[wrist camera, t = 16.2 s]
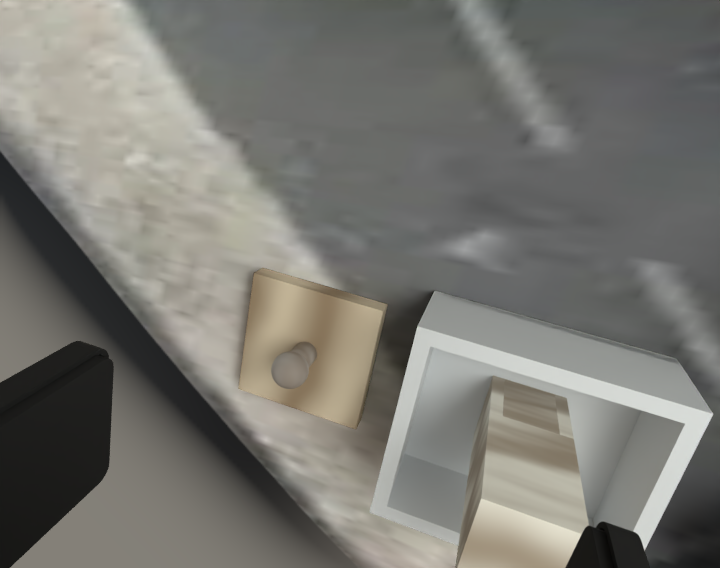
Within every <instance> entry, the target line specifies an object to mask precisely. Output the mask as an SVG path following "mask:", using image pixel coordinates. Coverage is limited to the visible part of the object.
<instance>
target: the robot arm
mask: <svg viewBox="0 0 720 568" xmlns="http://www.w3.org/2000/svg"><path fill="white" fill-rule="evenodd" d="M112 389H113V362H112V360H110V359H109V355H108V353H107V351H106V350H104V349H102V348H99V347H96V346H93V345H90V344H87V343H84V342H81V341H76V342H73V343H71V344H69V345H67V346H65V347H63V348H62V349H60V350H58V351H56V352H54V353H53V354H51V355H49V356H47V357H46V358H44V359H42V360H40V361H38V362H37V363H35V364H33V365H32V366H30V367H28V368H26V369H24V370H22V371H20V372H19V373H17V374H15V375H13V376H12V377H10V378H8V379H6V380H4V381H2V382H1V383H0V568H10V567H11V566H12V565H13V564H14V563H15V562H16V561H17V560H18V559H19V558H21V557H22V556H23V555H24V554H25V553H26V552H27V551H28V550H29V549H30V548H31V547H32V546H33V545H34V544H35V543H36V542H38V541H39V540H40V539H41V538H42V537H43V536H44V535H45V534H46V533H47V532H48V531H49V530H50V529H51V528H52V527H53V526H54V525H56V524H57V523H58V522H59V521H60V520H61V519H62V518H63V517H64V516H65V515H66V514H67V513H68V512H69V511H70V510H71V509H72V508H74V507H75V506H76V505H77V504H78V503H79V502H80V501H81V500H82V499H83V498H84V497H85V496H86V495H87V494H88V493H89V492H90V491H91V490H93V489H94V488H95V487H96V486H97V485H98V484H99V483H100V482H101V481H102V479H103V478H104V476H105V474H106V472H107V470H108V467H109V456H110V434H111V433H110V432H111V411H112ZM565 568H650V567H649V563H648V560H647V557H646V554H645V551H644V548H643V544H642V541H641V539H640V537H639V535H638V534H637V533H636V532H633V531H630V530H627V529H624V528H621V527H618V526H616V525H613V524H610V523H607V522H604V521H603V522H600V523H599V524H598V525H597V526H596V528H595V527H592V526H587V527H586V528H585V529H584V531H583V533H582V535H581V537H580V539H579V541H578V543H577V545H576V547H575V549H574V551H573V553H572V555H571V557H570V559H569V561H568V563H567V565H566V567H565Z"/></svg>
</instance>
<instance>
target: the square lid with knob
mask: <svg viewBox="0 0 720 568" xmlns="http://www.w3.org/2000/svg"><path fill="white" fill-rule="evenodd" d="M387 306H388V304H385V303H382V302H378V301H375V300H371V299H368V298H364V297H361V296H358V295H354V294H351V293H347V292H344V291H340V290H337V289H334V288H330V287H327V286H323V285H320V284H316V283H313V282H310V281H306V280H303V279H299V278H296V277H292V276H289V275H286V274H282V273H279V272H275V271H272V270H268V269H265V268H262V269H260V270H258V271H257V272H255V273H254V276H253V283H252V290H251V298H250V305H249V313H248V320H247V328H246V335H245V343H244V350H243V357H242V365H241V372H240V380H239V387H238V389H240V390H243V391H246V392H249V393H252V394H255V395H257V396H260V397H263V398H266V399H269V400H272V401H275V402H278V403H281V404H284V405H286V406H289V407H292V408H295V409H298V410H301V411H304V412H307V413H310V414H313V415H316V416H318V417H321V418H324V419H327V420H330V421H333V422H336V423H339V424H342V425H345V426H347V427H350V428H353V429H356V428H357V426H358V424H359V423H360V421H361V418H362V414H363V409H364V405H365V401H366V397H367V392H368V388H369V384H370V379H371V375H372V371H373V366H374V362H375V358H376V354H377V349H378V345H379V341H380V336H381V332H382V328H383V323H384V319H385V315H386V311H387Z"/></svg>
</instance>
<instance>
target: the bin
mask: <svg viewBox="0 0 720 568" xmlns="http://www.w3.org/2000/svg"><path fill="white" fill-rule="evenodd" d="M493 375H494V376H497V377H500V378H503V379H507V380H510V381H513V382H516V383H520V384H523V385H526V386H529V387H533V388H536V389H539V390H542V391H546V392H549V393H552V394H555V395H559V396H562V397H565V398H567V403H568V409H569V414H570V420H571V426H572V431H573V437H574V443H575V449H576V454H577V460H578V466H579V471H580V477H581V483H582V489H583V494H584V500H585V506H586V511H587V517H588V523H589V526H592V527H595V528H596V526H597V525H598V524H599V523H600V522H603V521H604V522H607V523H610V524H613V525H616V526H618V527H621V528H624V529H627V530H630V531H633V532H636V533H637V534H638V535H639V537H640V539H641V541H642V544H643V548H644V551H645V549H646V547H647V545H648V543H649V541H650V539H651V537H652V535H653V533H654V531H655V529H656V527H657V525H658V523H659V521H660V519H661V517H662V515H663V513H664V511H665V509H666V507H667V505H668V503H669V501H670V499H671V497H672V495H673V493H674V491H675V489H676V487H677V485H678V483H679V481H680V479H681V477H682V475H683V473H684V471H685V469H686V467H687V465H688V463H689V461H690V459H691V457H692V455H693V453H694V451H695V449H696V447H697V445H698V443H699V441H700V439H701V437H702V435H703V433H704V431H705V430H706V428H707V426H708V424H709V422H710V420H711V418H712V416H713V413H712V411H711V410H710V408H709V407H708V405H707V404H706V402H705V401H704V399H703V398H702V396H701V395H700V393H699V392H698V390H697V389H696V387H695V386H694V384H693V383H692V381H691V380H690V378H689V377H688V375H687V374H686V372H685V371H684V369H683V368H682V366H681V365H680V363H679V361H678V360H677V358H673V357H670V356H666V355H663V354H659V353H655V352H652V351H648V350H645V349H641V348H638V347H634V346H631V345H627V344H623V343H620V342H616V341H613V340H609V339H606V338H602V337H599V336H595V335H591V334H588V333H584V332H581V331H577V330H574V329H570V328H567V327H563V326H559V325H556V324H552V323H549V322H545V321H542V320H538V319H535V318H531V317H527V316H524V315H520V314H517V313H513V312H510V311H506V310H503V309H499V308H495V307H492V306H488V305H485V304H481V303H478V302H474V301H471V300H467V299H463V298H460V297H456V296H453V295H449V294H446V293H442V292H439V291H434V293H433V295H432V297H431V299H430V301H429V303H428V305H427V307H426V310H425V312H424V314H423V316H422V318H421V320H420V322H419V324H418V326H417V330H416V334H415V338H414V341H413V345H412V349H411V353H410V357H409V361H408V365H407V369H406V373H405V376H404V380H403V384H402V388H401V392H400V396H399V400H398V404H397V407H396V411H395V415H394V419H393V423H392V427H391V431H390V435H389V439H388V442H387V446H386V450H385V454H384V458H383V462H382V466H381V470H380V473H379V477H378V481H377V485H376V489H375V493H374V497H373V501H372V504H371V508H370V512H369V513H372V514H375V515H377V516H380V517H383V518H385V519H388V520H391V521H393V522H396V523H399V524H401V525H404V526H407V527H409V528H412V529H415V530H417V531H420V532H423V533H425V534H428V535H431V536H433V537H436V538H439V539H441V540H444V541H447V542H449V543H452V544H455V545H457V546H458V545H459V538H460V530H461V523H462V516H463V509H464V502H465V495H466V487H467V480H468V473H469V466H470V459H471V451H472V444H473V437H474V433H475V430H476V426H477V423H478V420H479V417H480V414H481V411H482V408H483V405H484V402H485V399H486V396H487V393H488V390H489V386H490V383H491V380H492V377H493Z"/></svg>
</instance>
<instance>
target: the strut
mask: <svg viewBox="0 0 720 568" xmlns="http://www.w3.org/2000/svg"><path fill="white" fill-rule="evenodd" d="M587 526H589V523H588V517H587V511H586V506H585V500H584V494H583V489H582V483H581V477H580V471H579V466H578V460H577V454H576V449H575V443H574V437H573V431H572V426H571V420H570V414H569V409H568V403H567V398H565V397H562V396H559V395H555V394H552V393H549V392H546V391H542V390H539V389H536V388H533V387H529V386H526V385H523V384H520V383H516V382H513V381H510V380H507V379H503V378H500V377H497V376H494V375H493V377H492V380H491V383H490V386H489V390H488V393H487V396H486V399H485V402H484V405H483V408H482V411H481V414H480V417H479V420H478V423H477V426H476V430H475V433H474V437H473V444H472V451H471V459H470V466H469V473H468V480H467V487H466V495H465V502H464V509H463V516H462V523H461V530H460V538H459V545H458V552H457V559H456V566H455V568H565V567H566V565H567V563H568V561H569V559H570V557H571V555H572V553H573V551H574V549H575V547H576V545H577V543H578V541H579V539H580V537H581V535H582V533H583V531H584V529H585V528H586V527H587Z"/></svg>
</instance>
